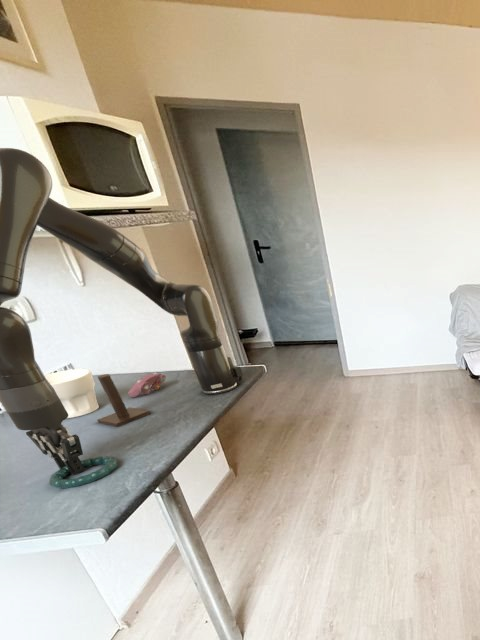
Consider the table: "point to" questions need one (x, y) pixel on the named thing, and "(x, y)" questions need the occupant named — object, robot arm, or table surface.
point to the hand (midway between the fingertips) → (73, 470)
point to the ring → (59, 482)
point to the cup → (75, 391)
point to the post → (118, 405)
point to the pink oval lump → (147, 384)
